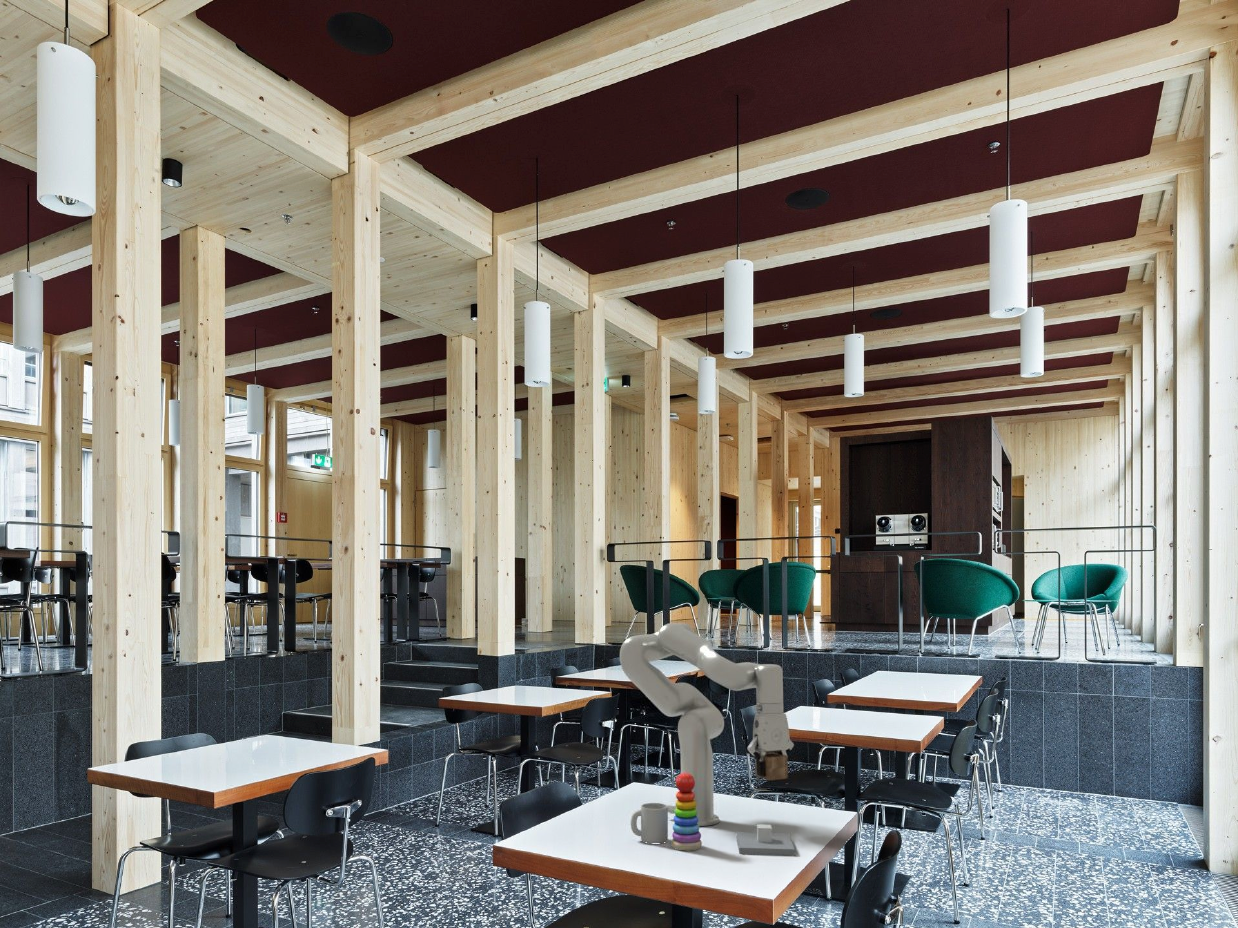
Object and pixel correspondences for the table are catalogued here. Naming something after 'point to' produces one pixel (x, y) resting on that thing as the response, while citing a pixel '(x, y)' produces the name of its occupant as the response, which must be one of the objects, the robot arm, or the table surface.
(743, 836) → the board
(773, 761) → the wooden cube shelf
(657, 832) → the cup
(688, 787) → the stacking toy
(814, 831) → the table surface
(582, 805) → the table surface
